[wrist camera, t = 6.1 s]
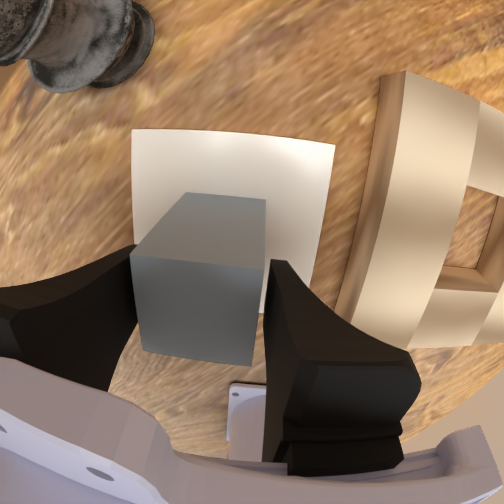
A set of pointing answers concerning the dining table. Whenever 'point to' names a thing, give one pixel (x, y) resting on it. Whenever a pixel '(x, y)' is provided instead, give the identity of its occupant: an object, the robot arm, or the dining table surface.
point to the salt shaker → (76, 40)
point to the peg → (202, 279)
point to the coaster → (237, 184)
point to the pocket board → (426, 220)
